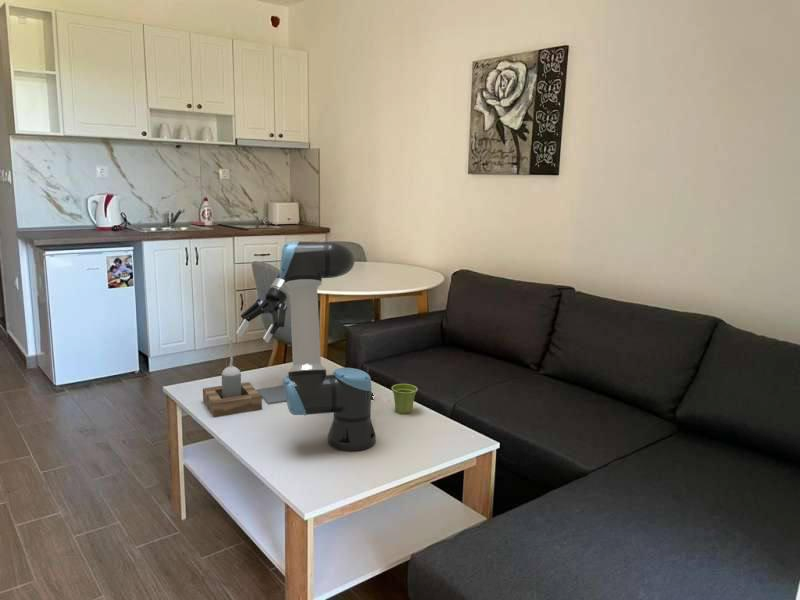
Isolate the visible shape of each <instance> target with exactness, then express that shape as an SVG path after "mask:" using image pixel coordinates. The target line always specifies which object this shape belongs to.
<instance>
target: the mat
mask: <svg viewBox="0 0 800 600" xmlns="http://www.w3.org/2000/svg"><path fill="white" fill-rule="evenodd" d="M255 389H256V390H257V391H258V393H259V394H260V395H261V396H262V399H263V400H264V401H265V403H267V404H268V405H275V404H279V403H287V401H286V396H285V390H284V384H283V385H277V386H271V387H264V388H259V389H257V388H255Z"/></svg>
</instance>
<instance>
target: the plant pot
mask: <svg viewBox="0 0 800 600" xmlns="http://www.w3.org/2000/svg"><path fill="white" fill-rule="evenodd" d="M391 390H392V394H393V399H394V411H395V412H396V413H397V412H398V413H399V414H404V415H405V414H409V413H412V412H413V407H414V403H415V396H416V394H417V392H418V387H417V386H415V385H413V384H409V383H397V384H393V385H392V386H391Z"/></svg>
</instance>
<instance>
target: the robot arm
mask: <svg viewBox="0 0 800 600" xmlns="http://www.w3.org/2000/svg"><path fill="white" fill-rule="evenodd" d="M281 250H282V251H281V257H280V264H279V265H280V266H279V273H278V275H277V276H276V278H275V279H274V281H273V283H272V284H271V285H270V288H269V289H268V291H267V293H266V294H265V299H264V300H261V298H258V299H256V301H255V303H253V304H252V305H251V306H250V307H249V308H247V309H246V310H245V311H244V312H243V313H242V314H241V315H240V318H241V319H242V321H241V322H240V324H239V327H238V329H237V330H236V332H235V333H236V335H237V336H238V337H240V338H242V337H243V335H244V333H245V332H246V331H247V328H248V327H249V325H250V322H251V321H253V320H254V319H256V318H258V317H259V316H260V315H263V314H270V315H271V316H272V321H273V322H272V323H271V324H270V326H269V327H268V329H267V331H266V332H265V334H264V336H263V338H262V339H263V340H264V342H266V343H268V344H269V342H270V341H271V339H272V337H273V335H275V333H276V332H277V330H278V329H279V328H284V327H285V322H286V312H287V310H288V306H287V304H286V303H285V302H286V301H287V299H288V298H287V297H289V298H290V299H289V302H290V323H291V324H290V325H291V329H290V330H291V350H292V366H291V367H290V369H289V370H288V371H287V374H288V375H287V376H286V377H284V378H283V385H284V390H285V396H286V401H287V402H286V405H287V409H288V412H289V414H291V415H293V416H307V415H320V414H322V415H323V414H331V413H333V418H332V422H331V425H330V427H329V430H328V433H327V444H328V445H329V446H330V447H331V448H333V449H335V450H339V451H343V452H344V451H346V452H358V451H364V450H367V449H369V448H371V447H372V446H374V445H375V444H376V435H377V434H376V431H375V428H374V425H373V422H372V419H371V418H372V417H371V412H372V411H371V410H372V409H371V408H372V407H371V406H372V401H371V392H372V389H373V388H372V378H371V376H370V375H368V374H369V373H368V374H367V371H364V370H362V369H359V368H352V367H339V368H335V369H334V371H333V373H332V374H327V368H326V367H324V366H323V365H322V362H321V342H320V341H321V340H320V321H319V297H318V294H319V293H318V288H319V287H320V286H321V285H322V284H323V282H322V280H323V279H330V278H331V279H333V278H334V279H335V278H337V277H341V276H344V275H346V274H348V273H349V272H351V270H352V269H353V267H354V266H355V262H356V261H355V255H354V253H353V251H352V250H351V248H349V247H348V246H346V245H344V244H341V243H338V242H333V241H300V240H298V241H292V242H291V241H290V242H286V243H284V244H283V247H282V249H281ZM278 310H279V311H278Z"/></svg>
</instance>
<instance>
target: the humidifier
mask: <svg viewBox="0 0 800 600" xmlns="http://www.w3.org/2000/svg"><path fill="white" fill-rule="evenodd" d="M232 353H233V338H229V353H228V355H229V358H230V360H229V365H227V361H225V363H226V365H225V366H226V367H225V368H224V369H223V371H222V372H221V386H222V397H221V399H222V398H229V397H236V396H242V395H241V383H242V374H241V370H240V369H239V368H237V367H236V366H234V365H233V362H234V357H233V354H232ZM224 357H227V349H226V353H225V356H224Z"/></svg>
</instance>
